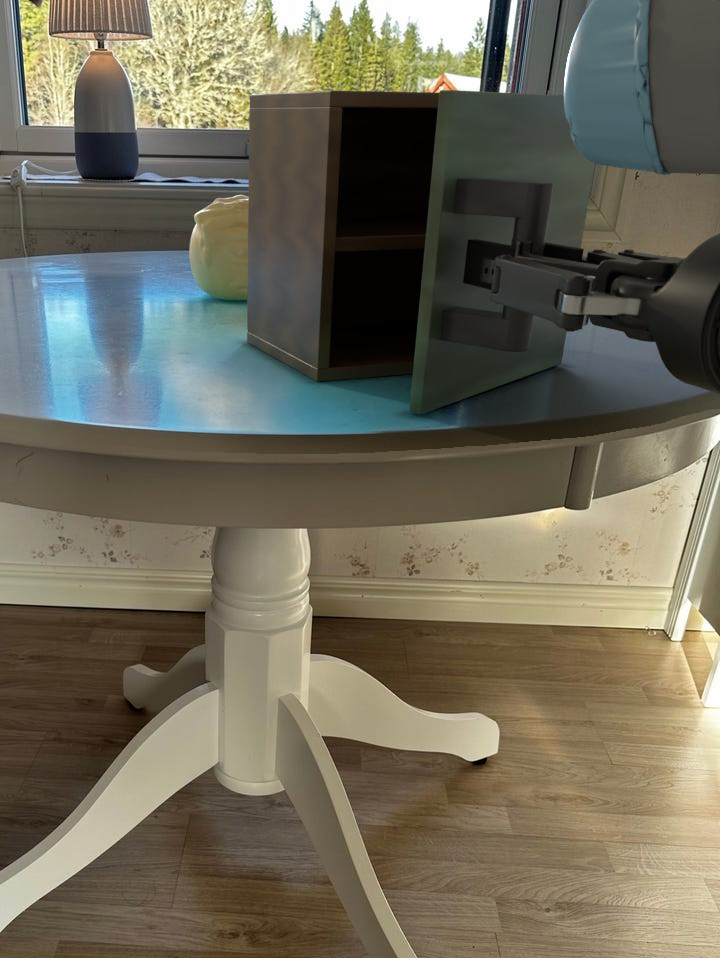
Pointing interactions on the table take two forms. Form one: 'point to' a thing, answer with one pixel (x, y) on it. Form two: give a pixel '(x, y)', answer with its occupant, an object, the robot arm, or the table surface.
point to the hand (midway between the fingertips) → (492, 260)
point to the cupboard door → (492, 238)
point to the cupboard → (338, 228)
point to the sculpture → (221, 248)
